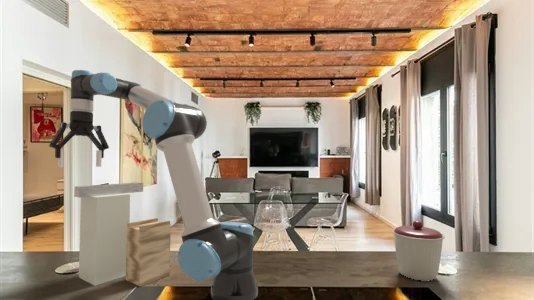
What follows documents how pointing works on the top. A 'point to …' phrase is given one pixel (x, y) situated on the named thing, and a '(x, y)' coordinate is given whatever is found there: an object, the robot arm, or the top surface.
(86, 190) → the rail
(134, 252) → the light brown boxy piece
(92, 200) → the unit
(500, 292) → the top surface
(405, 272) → the canister
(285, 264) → the top surface
